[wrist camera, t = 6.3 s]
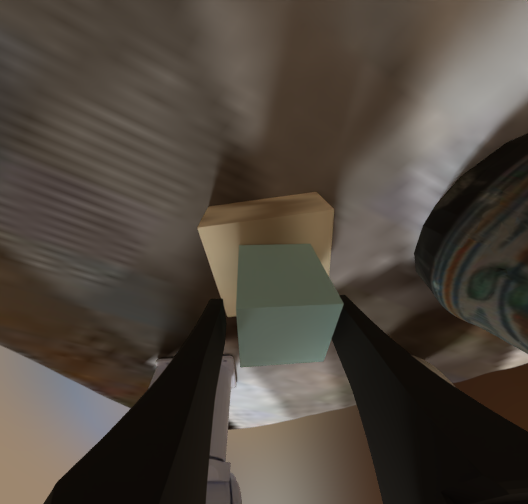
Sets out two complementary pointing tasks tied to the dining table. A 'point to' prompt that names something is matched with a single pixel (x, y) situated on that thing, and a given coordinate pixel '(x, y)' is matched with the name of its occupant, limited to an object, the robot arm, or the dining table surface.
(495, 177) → the beer stein
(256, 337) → the teal block
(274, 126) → the dining table surface
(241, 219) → the birch base block
